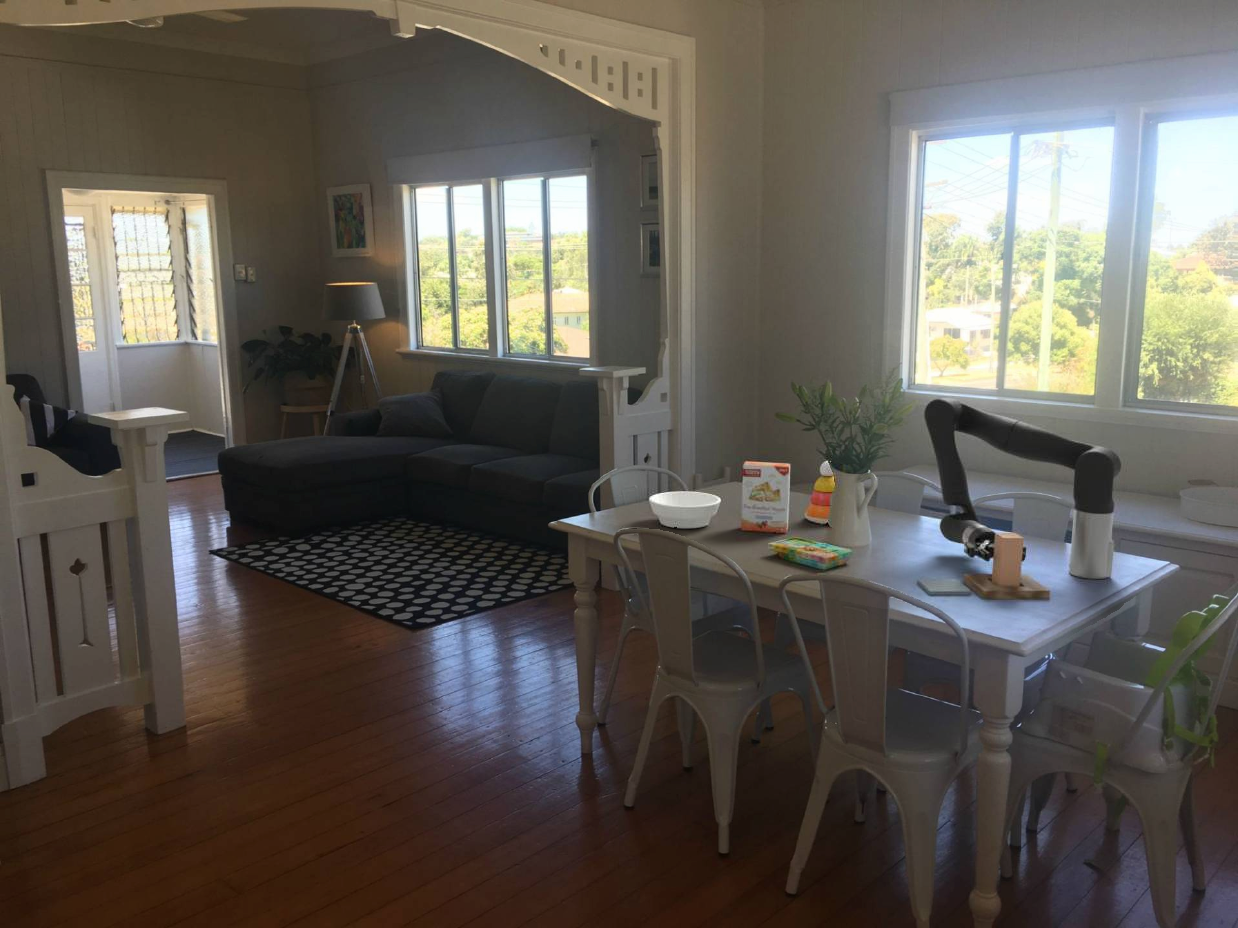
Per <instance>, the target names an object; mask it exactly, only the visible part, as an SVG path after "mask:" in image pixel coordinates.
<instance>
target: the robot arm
mask: <svg viewBox="0 0 1238 928" xmlns="http://www.w3.org/2000/svg"><path fill="white" fill-rule="evenodd" d="M923 416H924V420H925V424H926V428H927V431H928V434H929V438H930V440H931V443H932V447H933V450H934V451H933V452H934V454H935V458H936V463H937V468H938V473H939V474H938V475H939V480H940V488H941V494H942V500H943V503H944V505H946V506H951V507H953V506H954V507H959V508H960V509H961V510H962V512H959V513H953V514H947V515H945V516H943V517H942V519H941V520H940V521H939V531H940V533H941V534H942V536H943V537H944V538H945V539H946V540H948V541H950V542H952V543H955V544H956V543H957V544H963V545H964V546H963V552H964V554H966V555H967V556H968V557H969V558H972V559H973V558H975V557H977V558H978V559H982V560H983V561H985V562H990V561H991V559H993V556H994V543H995V533H996V532H995V531H993V530H992V529H990V528H989V527H987V526H986V525H984V524H981V522H980V518H979V516H978V515H977V513H976V510H975V508H974V506H973V503H972V500H971V497H970V493H969V485H968V479H967V475H966V471H965V467H964V465H963V462H962V460H961V458H960V454H959V452H958V449H957V444H956V437H955V436H956V435H955V432H959V433H962V434H966V435H970V436H973V437H975V438H978V439H980V440H982V441H984V443H986V444H988V445H989V446H991V447H993V448H994V449H997V450H999V451H1000V452H1003V453H1004V454H1005V453H1006V454H1009V455H1011V456H1014V457H1017V458H1020V459H1024V460H1029V461H1032V462H1033V461H1034V462H1039V463H1046V464H1047V463H1048V464H1054V465H1058V466H1063V467H1065V468H1068V469H1071V470H1073V471H1074V473H1073V474H1074V476H1073V491H1072V493H1073V501H1074V510H1073V521H1072V533H1071V542H1070V543H1071V545H1070V555H1069V556H1070V557H1069V564H1068V565H1069V567H1068V573H1069V574H1070V575H1072V576H1074V577H1079V578H1084V579H1091V580H1099V579H1107V578H1111V577H1112V571H1113V561H1114V553H1115V552H1114V550H1115V541H1114V540H1113V539H1112V533H1113V522H1114V521H1113V520H1114V513H1115V512H1114V511H1115V501H1114V499H1113V488H1114V479H1115V478H1116V477H1117V476H1118V475H1119V473H1120V472H1121V469H1122V462H1121V459H1120V457H1119V455H1118V454H1117V453H1115V452H1114V450H1112V449H1109V448H1107V447H1104V446H1099V445H1095V444H1089V443H1086V442H1081V441H1077V440H1074V439H1070V438H1067V437H1064V436H1062V435H1059V434H1057V433H1055V432H1052V431H1050V430H1047V429H1044V428H1041V427H1038V426H1035V425H1033V424H1030V423H1027V422H1024V421H1021V420H1018V419H1014V418H1010V417H1007V416H1004V415H999V414H995V413H989V412H986V411H983V410H981V409H978V408H976V407H973V406H972V405H969V404H967V403H966V402H965V403H964V402H963V401H961V400H959V399H957V398H953V397H942V398H941V397H940V398H935V399H933V400H931V401H929V402H928V403H927V405H925V409H924V415H923ZM1027 549H1028V548H1027V547H1026V546H1024V545H1023V552H1022V562H1024V561H1025V560H1026V557H1027Z"/></svg>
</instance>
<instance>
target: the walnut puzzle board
mask: <svg viewBox="0 0 1238 928" xmlns="http://www.w3.org/2000/svg"><path fill="white" fill-rule="evenodd" d="M962 583H964V584H965V586H968V587H969V588H970V589H971V591H973V592H975V593H976V594H977V595H978V596H979V597H981V598H982V599H983V600H1001V599H1002V600H1024V599H1025V600H1028V599H1029V600H1031V599H1032V600H1033V599H1034V600H1035V599H1036V600H1038V599H1043V600H1044V599H1045V600H1047V599H1050V598H1051V590H1050V589H1048V588H1047V587H1045V586H1044V585H1042V584H1041V583H1040V582H1038V581H1037V580H1035V579H1034V578H1032V577H1031V576H1029V575H1028V574H1027V573H1021V577H1020V586H1009V587H997V586H996V585H995V584H993V583H992V573H991V574H990V573H976V574H975V573H972V574H971V573H963V579H962Z"/></svg>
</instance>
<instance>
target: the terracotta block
mask: <svg viewBox="0 0 1238 928" xmlns="http://www.w3.org/2000/svg"><path fill="white" fill-rule="evenodd" d="M1023 546H1024V537H1023V536H1021V535H1019V534H1018V533H1016V532H995V543H994V556H993V558H992V573H991V574H992V583H993V584H995V585H996V586H997V587H1009V586H1020V577H1021V574H1022V563H1023V561H1022V552H1023Z"/></svg>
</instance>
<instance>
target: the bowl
mask: <svg viewBox="0 0 1238 928" xmlns="http://www.w3.org/2000/svg"><path fill="white" fill-rule="evenodd" d="M648 501H649V504H650V506H651V510H652V513H653V514H655V515H656V516H657V517H658V519H659V522H660V524H661V525H663V526H666V527H670V528H674V527H677V528H676V529H697V528H703V527H706V526H707V525H709V524H710V521H711V518H712V517H714V516H715V515H716V514H717V512H718V510H719V507H720V504H721V502H722V500H721V498H720V497H719V496H717V495H714V494H710V493H706V492H700V491H668V492H666V491H665V492H661V493H656V494H653V495H651V496H649V498H648Z"/></svg>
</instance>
